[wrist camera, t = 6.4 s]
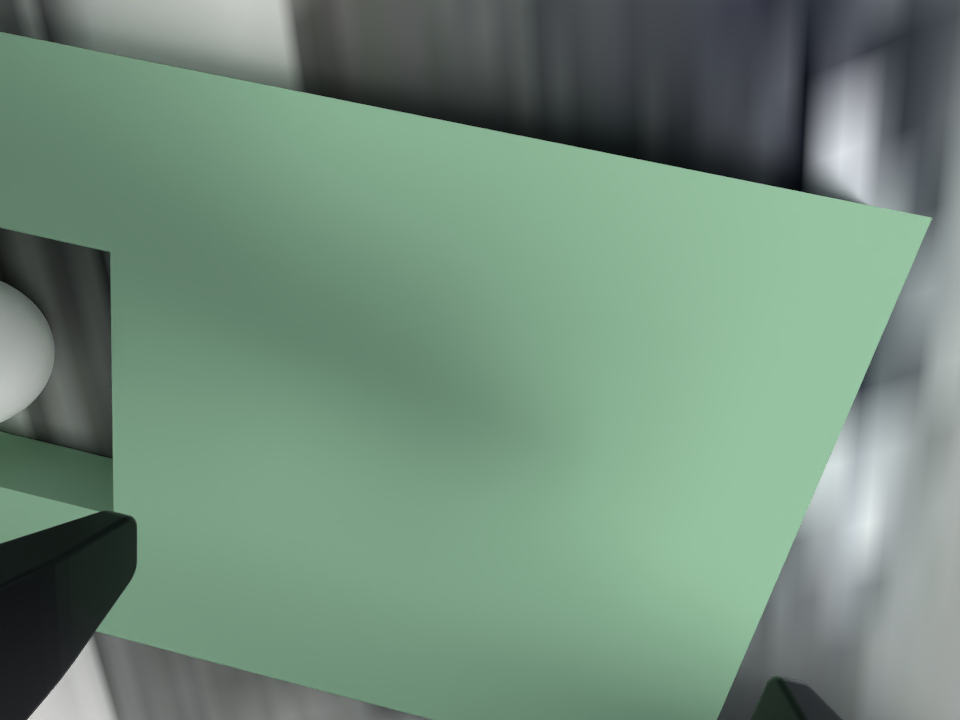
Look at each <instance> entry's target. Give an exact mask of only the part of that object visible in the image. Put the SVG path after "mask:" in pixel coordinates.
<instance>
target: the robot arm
mask: <svg viewBox="0 0 960 720" xmlns="http://www.w3.org/2000/svg"><path fill="white" fill-rule="evenodd" d="M136 567H137V522H136V520H135V518H133V517H132V516H130V515H126V514H122V513H118V512H114V511H109V510H105V511H100V512H97V513H94V514H91V515H88V516H85V517H82V518H78V519H75V520H72V521H69V522H66V523H63V524H60V525H57V526H53V527H50V528H47V529H44V530H41V531H38V532H35V533H32V534H28V535H25V536H22V537H19V538H16V539H13V540H10V541H6V542H3V543H0V720H27V719H28V718H29V717H30V716H31V715H32V713H33V712H34V711H35V710H36V709H37V707H38V706H39V705H40V704H41V703H42V702H43V700H44V699H45V698H46V697H47V696H48V694H49V693H50V692H51V691H52V690H53V688H54V687H55V686H56V685H57V683H58V682H59V681H60V680H61V678H62V677H63V676H64V674H65V673H66V672H67V670H68V669H69V668H70V666H71V665H72V664H73V662H74V661H75V660H76V658H77V657H78V655H79V654H80V652H81V651H82V650H83V648H84V647H85V645H86V644H87V643H88V641H89V640H90V638H91V637H92V635H93V634H94V633H95V631H96V630H97V628H98V627H99V625H100V624H101V623H102V621H103V620H104V618H105V617H106V616H107V614H108V613H109V611H110V610H111V608H112V607H113V606H114V604H115V603H116V601H117V600H118V599H119V597H120V596H121V594H122V593H123V591H124V590H125V589H126V587H127V586H128V584H129V583H130V581H131V580H132V578H133V576H134V573H135V571H136ZM751 720H843V719H842V718H841V717H840V716H839V715H838V714H837V713H836V712H835V711H834V710H833V709H832V708H831V707H830V706H829V705H828V704H827V703H826V702H825V701H824V700H823V699H822V698H821V697H820V696H819V695H818V694H817V693H816V692H815V691H814V690H813V689H812V688H811V687H810V686H808V685H807V684H806V683H804V682H801V681H798V680H793V679H789V678H785V677H781V676H774V677H772V678H771V679H770V680H769V681H768V683H767V684H766V687H765V689H764V691H763V693H762V696H761V698H760V700H759V702H758V704H757V707H756V709H755V711H754V713H753V715H752V718H751Z"/></svg>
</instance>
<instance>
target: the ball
mask: <svg viewBox="0 0 960 720" xmlns="http://www.w3.org/2000/svg"><path fill="white" fill-rule="evenodd" d="M54 358H55V345H54V339H53V334H52V331H51V329H50V326H49V324H48V322H47V321H46V319H45V317H44V315H43V314H42V313H41V311H40V310H39V309H38V308H37V306H36V305H35V304H34V303H33V302H32V301H31V300H30V299H29V298H28V297H26V296H25V295H24V294H22V293H21V292H20V291H18V290H17V289H15V288H13V287H12V286H10V285H8V284H6V283H4V282H2V281H0V423H1V422H3V421H5V420H7V419H9V418H11V417H13V416H15V415H16V414H18V413H19V412H21V411H22V410H24V409H25V408H26V407H27V406H29V405H30V404H31V403H32V402H33V401H34V400H35V399H36V398H37V397H38V396H39V394H40V393H41V392H42V390H43V389H44V387H45V386H46V384H47V382H48V380H49V378H50V375H51V373H52V370H53V365H54Z"/></svg>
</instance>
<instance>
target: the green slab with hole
mask: <svg viewBox="0 0 960 720" xmlns="http://www.w3.org/2000/svg"><path fill="white" fill-rule="evenodd" d="M931 219H932V218H930V217H925V216H920V215H915V214H910V213H905V212H900V211H895V210H890V209H885V208H880V207H875V206H870V205H865V204H860V203H855V202H850V201H845V200H840V199H835V198H830V197H825V196H820V195H815V194H810V193H805V192H800V191H795V190H790V189H785V188H780V187H775V186H770V185H765V184H760V183H755V182H750V181H745V180H740V179H735V178H730V177H725V176H719V175H714V174H709V173H704V172H699V171H694V170H689V169H684V168H679V167H674V166H669V165H664V164H659V163H654V162H649V161H644V160H639V159H634V158H629V157H624V156H619V155H614V154H609V153H604V152H599V151H594V150H589V149H584V148H579V147H574V146H569V145H564V144H559V143H554V142H549V141H544V140H539V139H534V138H529V137H524V136H519V135H514V134H509V133H504V132H499V131H494V130H489V129H484V128H479V127H474V126H469V125H464V124H459V123H454V122H449V121H444V120H439V119H434V118H429V117H424V116H419V115H414V114H409V113H404V112H399V111H394V110H389V109H384V108H379V107H374V106H369V105H364V104H359V103H354V102H349V101H344V100H339V99H334V98H329V97H324V96H319V95H314V94H309V93H304V92H299V91H294V90H289V89H284V88H279V87H274V86H269V85H264V84H259V83H254V82H249V81H244V80H239V79H234V78H229V77H224V76H219V75H214V74H209V73H204V72H199V71H194V70H189V69H184V68H179V67H174V66H169V65H164V64H159V63H154V62H149V61H144V60H139V59H134V58H129V57H124V56H119V55H114V54H109V53H104V52H99V51H94V50H89V49H84V48H79V47H74V46H69V45H64V44H59V43H54V42H49V41H44V40H39V39H34V38H29V37H24V36H19V35H14V34H9V33H4V32H0V228H4V229H8V230H13V231H17V232H22V233H26V234H31V235H35V236H40V237H44V238H49V239H53V240H58V241H62V242H67V243H71V244H76V245H80V246H85V247H89V248H94V249H99V250H103V251H108V252H110V276H111V353H112V430H113V459H112V458H107V457H103V456H99V455H95V454H91V453H87V452H83V451H79V450H75V449H70V448H66V447H62V446H58V445H54V444H50V443H46V442H42V441H38V440H34V439H29V438H25V437H21V436H17V435H13V434H9V433H5V432H1V431H0V543H3V542H6V541H10V540H13V539H16V538H19V537H22V536H25V535H28V534H32V533H35V532H38V531H41V530H44V529H47V528H50V527H53V526H57V525H60V524H63V523H66V522H69V521H72V520H75V519H78V518H82V517H85V516H88V515H91V514H94V513H97V512H100V511H105V510H109V511H114V512H118V513H122V514H126V515H130V516H132V517H133V518H135V520H136V522H137V567H136V571H135V573H134V576H133V578H132V580H131V581H130V583H129V584H128V586H127V587H126V589H125V590H124V591H123V593H122V594H121V596H120V597H119V599H118V600H117V601H116V603H115V604H114V606H113V607H112V608H111V610H110V611H109V613H108V614H107V616H106V617H105V618H104V620H103V621H102V623H101V624H100V625H99V627H98V628H97V630H96V632H100V633H104V634H108V635H112V636H115V637H119V638H123V639H127V640H131V641H134V642H138V643H142V644H146V645H150V646H154V647H157V648H161V649H165V650H169V651H173V652H176V653H180V654H184V655H188V656H192V657H195V658H199V659H203V660H207V661H211V662H214V663H218V664H222V665H226V666H230V667H234V668H237V669H241V670H245V671H249V672H253V673H256V674H260V675H264V676H268V677H272V678H275V679H279V680H283V681H287V682H291V683H294V684H298V685H302V686H306V687H310V688H314V689H317V690H321V691H325V692H329V693H333V694H336V695H340V696H344V697H348V698H352V699H355V700H359V701H363V702H367V703H371V704H374V705H378V706H382V707H386V708H390V709H393V710H397V711H401V712H405V713H409V714H413V715H416V716H420V717H424V718H428V719H432V720H717V718H718V716H719V714H720V711H721V709H722V707H723V704H724V702H725V700H726V697H727V695H728V693H729V690H730V688H731V686H732V683H733V681H734V679H735V676H736V674H737V672H738V670H739V667H740V665H741V663H742V660H743V658H744V656H745V653H746V651H747V649H748V646H749V644H750V642H751V639H752V637H753V635H754V632H755V630H756V628H757V625H758V623H759V621H760V618H761V616H762V614H763V611H764V609H765V607H766V604H767V602H768V600H769V597H770V595H771V593H772V590H773V588H774V586H775V583H776V581H777V579H778V576H779V574H780V572H781V569H782V567H783V565H784V562H785V560H786V558H787V555H788V553H789V551H790V548H791V546H792V544H793V541H794V539H795V537H796V534H797V532H798V530H799V527H800V525H801V523H802V520H803V518H804V516H805V513H806V511H807V509H808V506H809V504H810V502H811V499H812V497H813V495H814V492H815V490H816V488H817V485H818V483H819V481H820V478H821V476H822V474H823V471H824V469H825V467H826V464H827V462H828V460H829V457H830V455H831V453H832V450H833V448H834V446H835V443H836V441H837V439H838V436H839V434H840V432H841V429H842V427H843V425H844V422H845V420H846V418H847V415H848V413H849V411H850V408H851V406H852V404H853V401H854V399H855V397H856V394H857V392H858V390H859V387H860V385H861V383H862V380H863V378H864V376H865V373H866V371H867V369H868V366H869V364H870V362H871V359H872V357H873V355H874V352H875V350H876V348H877V345H878V343H879V341H880V338H881V336H882V334H883V331H884V329H885V327H886V324H887V322H888V320H889V317H890V315H891V313H892V310H893V308H894V306H895V303H896V301H897V299H898V296H899V294H900V292H901V289H902V287H903V285H904V282H905V280H906V278H907V275H908V273H909V271H910V268H911V266H912V264H913V261H914V259H915V257H916V254H917V252H918V250H919V247H920V245H921V243H922V240H923V238H924V236H925V233H926V231H927V229H928V226H929V224H930V222H931Z"/></svg>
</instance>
